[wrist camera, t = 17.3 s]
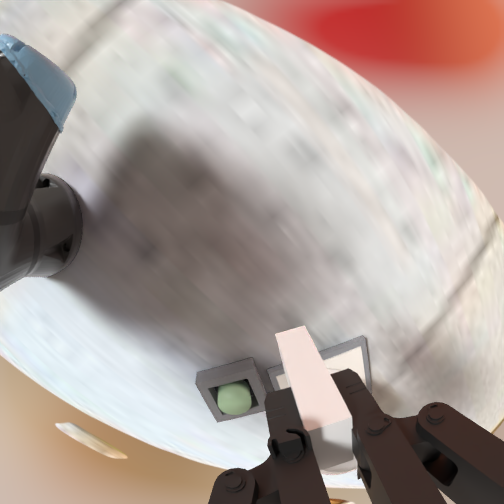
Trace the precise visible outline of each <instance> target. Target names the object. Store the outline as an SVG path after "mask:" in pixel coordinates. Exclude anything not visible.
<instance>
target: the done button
mask: <svg viewBox="0 0 504 504" xmlns="http://www.w3.org/2000/svg"><path fill="white" fill-rule="evenodd" d="M218 407H219V408H220V410H221V411H223V412H224V413H227V414H230V415H239V414H242V413H245V412H246V411H248V410H249V408H250V407H251V395H250V387H249V385H248V384H247V383H246V382H245V381H243V380H239V381H235V382H232V383H228V384H224V385H220V386H219V387H218Z"/></svg>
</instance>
